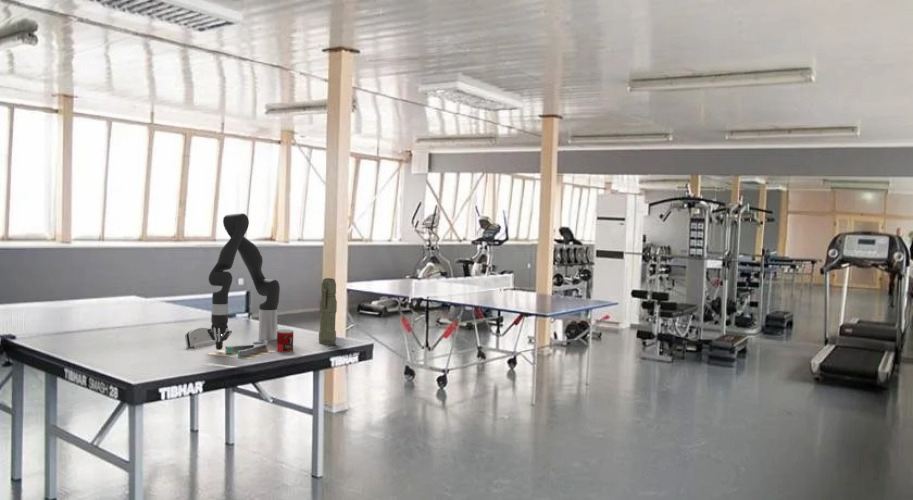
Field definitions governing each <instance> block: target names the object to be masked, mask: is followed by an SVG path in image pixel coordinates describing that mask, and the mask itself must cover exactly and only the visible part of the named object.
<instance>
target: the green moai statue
mask: <svg viewBox="0 0 913 500" xmlns="http://www.w3.org/2000/svg"><path fill="white" fill-rule="evenodd" d="M320 286H321V289H320V291H321V292H320V293H321V296H320V300H319V314H320V316H319V317H320V318H319V319H320V322H319V330H318V343H319V344H322V345H330V347H333V346H336V342H337V341H336V340H337V331H336V313H337V309H338V305H337V304H338V301H337V297H336V295H337V282H336V280H335V279H334V278H333V277H332V278H331V277H328V278H327V277H326V278H323V279H322V281H321V285H320Z"/></svg>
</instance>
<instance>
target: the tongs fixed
mask: <svg viewBox="0 0 913 500" xmlns="http://www.w3.org/2000/svg"><path fill="white" fill-rule="evenodd" d="M263 342H264V343H263V344H260V345H258V346H254V347H253V348H250V349H246V350H240V351H238V357H241V358H240V359H244V358H243V357H247V356H251V355H254V354H258V353H261V352H265V351H268V350H269V341H268V340H264V341H263ZM238 357H237V358H238Z"/></svg>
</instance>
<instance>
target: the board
mask: <svg viewBox="0 0 913 500" xmlns="http://www.w3.org/2000/svg"><path fill="white" fill-rule="evenodd" d="M225 349H226V348H224V349H221V350H216V351H213V352H209V353H207V355H211V356H212V355H214V356H220V357H230V358H231V357H232V358H239V359H247V360H251V359H254V358H258V357H261V356H265V355H268V354H272V353H275V352H277V350H269V349H268V351H265V352H261V353H258V354H254V355H251V356H247V357H243V358H241V357H238V353H231V354H226V353H225Z"/></svg>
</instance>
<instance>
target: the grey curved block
mask: <svg viewBox="0 0 913 500" xmlns="http://www.w3.org/2000/svg"><path fill="white" fill-rule="evenodd" d="M208 329H209V328H207V327H197V328H194V329H191V330H189V331H187V333H185V334H184V337H185V345H186V348H188V349H190V348H193V349H194V350H195V349H199V348H205V347H208V346H213V345H216V342H215V340H212V338H211V337H210V335H209V333H208V332H207V330H208Z"/></svg>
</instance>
